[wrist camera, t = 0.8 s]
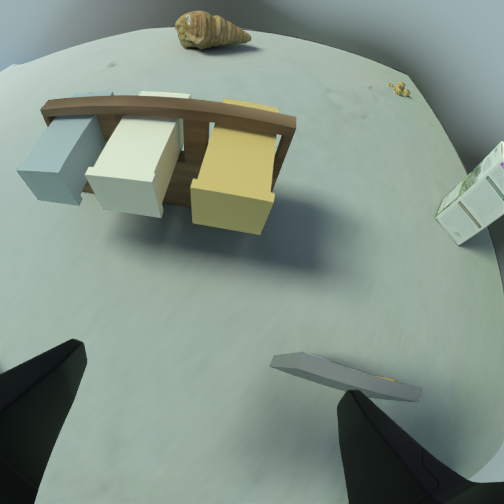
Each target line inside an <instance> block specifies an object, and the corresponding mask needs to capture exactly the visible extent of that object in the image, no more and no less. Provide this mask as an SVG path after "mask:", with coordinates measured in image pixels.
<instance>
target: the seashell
mask: <svg viewBox="0 0 504 504" xmlns="http://www.w3.org/2000/svg"><path fill="white" fill-rule="evenodd" d="M175 29H176V30H177V32H178V37H179V40H180V43H181V45H182V46H183V47H184V48H186V47H192V48H194V47H197V48H199V49H200V50H202V49H206V48H210V47H212V46H218V45H232V44H240V43H247V42H249V41H251V36H250V35H249V34H247V33H246V32H245V31H242V29H240V28H239V27H236V26H234V24H232V23H231V22H229V21H225V20H224V19H223V18H221V17H220V16H218V15H216V16H211V15H210V14H209V13H207V12H204V11H193V12H190V13H186V14H184V15H183V16H181V17H180V18H179V19H178V20H177V21H176V23H175Z"/></svg>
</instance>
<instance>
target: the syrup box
mask: <svg viewBox="0 0 504 504" xmlns="http://www.w3.org/2000/svg"><path fill="white" fill-rule="evenodd" d="M503 214H504V142H503V141H502V142H500V143H499V144H498V146H497V147H496V148H495V149H494V150H493V151H492V152H491V153H490V154H489V155H488V156H487V157H486V158H485V159H484V160H483V161H482V162H481V163H480V164H479V165H478V166H477V167H476V168H475V169H474V170H473V171H472V172H471V173H470V174H468V175H467V176H466V177H465V178H464V179H463V180H462V181H461V182H460V183H459V184H458V185H457V186H456V187H455V188H453V190H451V191H450V192H449V193H448V194H447V195H446V196H445V197H444V198H443V199H442V202H441V205H440V207H439V210H438V212H437V214H436V217H435V218H436V220H437V221H438V222H439V224H440V225H441V226H442V227H443V228H444V230H445V231H446V232H447V233H448V234H449V235H450V237H451V238H452V239H453V240H454V241H455V242H456V244H457V245H460V244H462V243H463V242H465V241H466V240H468V239H469V238H471V237H472V236H474V235H475V234H477V233H478V232H480V231H481V230H483V229H484V228H485V227H487V226H488V225H490V224H491V223H492V222H493V221H495V220H496V219H497V218H499V217H500V216H502V215H503Z"/></svg>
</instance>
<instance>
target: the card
mask: <svg viewBox="0 0 504 504" xmlns="http://www.w3.org/2000/svg"><path fill="white" fill-rule="evenodd" d="M270 367H272V368H275V369H278V370H281V371H283V372H286V373H289V374H292V375H295V376H298V377H301V378H304V379H307V380H310V381H313V382H316V383H319V384H323V385H326V386H329V387H333V388H336V389H339V390H343V391H347V390H349V389H358V390H360V391H361V392H362V393H363V394H364V395H365V396H367V397H370V398H378V399H387V400H397V401H410V402H419V399H420V396H421V392H422V389H421V388H417V387H413V386H409V385H405V384H402V383H398V382H397V381H396V380H394V379H391V378H386V377H381V376H373V375H370V374H367V373H364V372H360V371H358V370H355V369H352V368H348V367H345V366H342V365H339V364H336V363H333V361H332V360H330V359H327V358H325V357H322V356H319V355H315V354H311V353H306V352H299V353H291V354H283V355H274V357H273V360H272V362H271V365H270Z"/></svg>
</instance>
